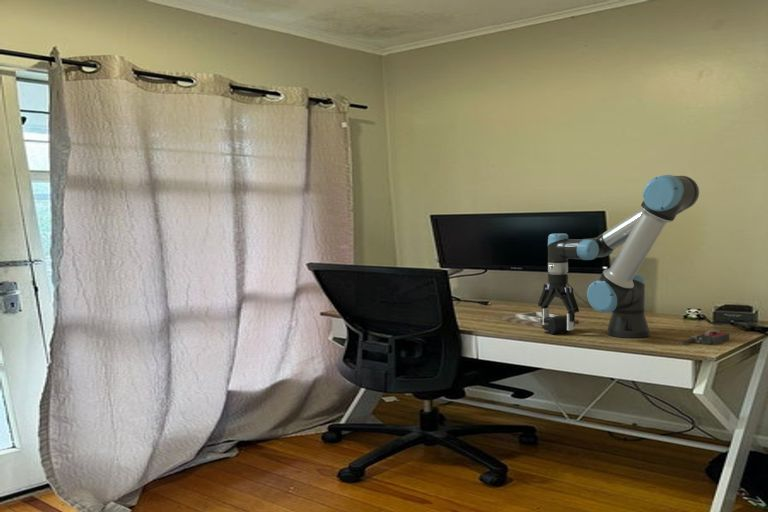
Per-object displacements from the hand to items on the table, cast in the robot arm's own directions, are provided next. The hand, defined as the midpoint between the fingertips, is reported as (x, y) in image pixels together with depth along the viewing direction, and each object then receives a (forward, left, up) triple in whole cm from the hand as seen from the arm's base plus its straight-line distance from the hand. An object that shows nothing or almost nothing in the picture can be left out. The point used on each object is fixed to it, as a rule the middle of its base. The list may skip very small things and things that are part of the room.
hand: (557, 327), depth 256 cm
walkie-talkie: (-44, -27, -3) cm, 52 cm away
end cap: (0, 0, -3) cm, 3 cm away
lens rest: (+26, -12, -2) cm, 28 cm away
